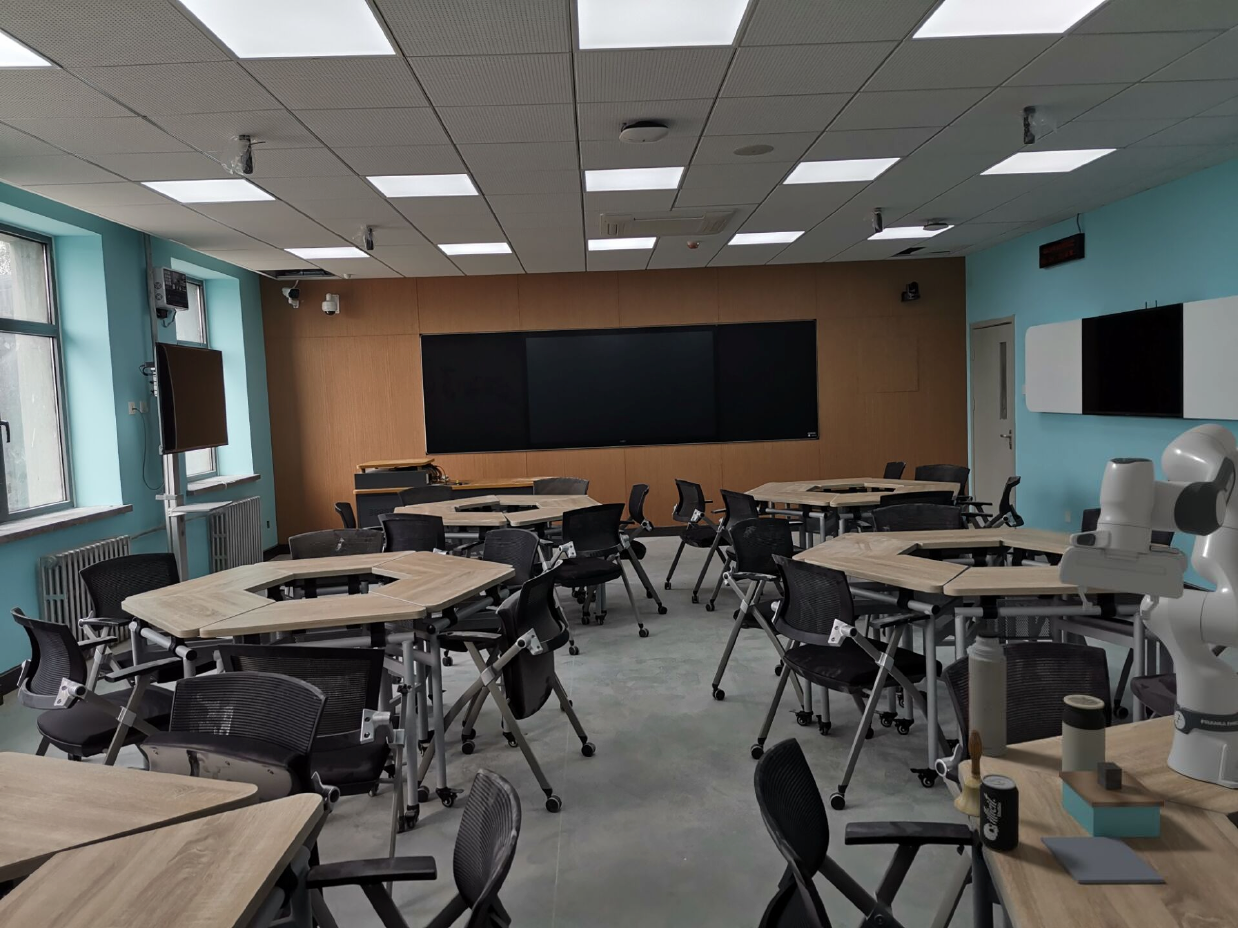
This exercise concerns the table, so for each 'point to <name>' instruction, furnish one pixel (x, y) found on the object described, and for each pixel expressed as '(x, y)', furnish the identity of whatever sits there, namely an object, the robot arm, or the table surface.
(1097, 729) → the travel mug
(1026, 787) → the table surface
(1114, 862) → the tray
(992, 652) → the thermos bottle
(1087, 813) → the dish
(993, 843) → the beverage can
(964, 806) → the hand bell
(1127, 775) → the lid
